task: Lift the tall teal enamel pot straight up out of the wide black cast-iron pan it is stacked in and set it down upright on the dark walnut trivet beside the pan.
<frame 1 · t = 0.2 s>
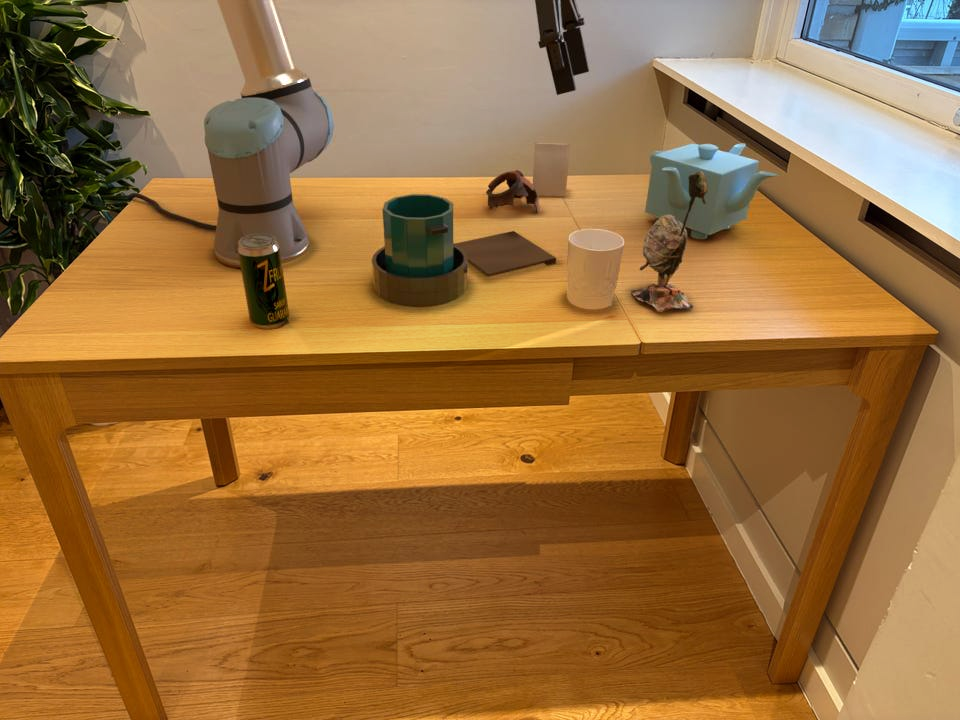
hand: (574, 82, 107), 28 cm above the table, tool tilted 20°, fingers open, 13 cm apart
brown arched frame: (514, 209, 140), on the table
trivet: (501, 256, 121), on the table
teakettle: (698, 227, 133), on the table
green soda can: (270, 321, 101), on the table
brown figurine: (658, 299, 109), on the table
white cup: (589, 302, 108), on the table
white upright block: (548, 194, 147), on the table
pan: (420, 288, 110), on the table, touching pot
pot: (420, 284, 110), point 1 cm above the table, touching pan
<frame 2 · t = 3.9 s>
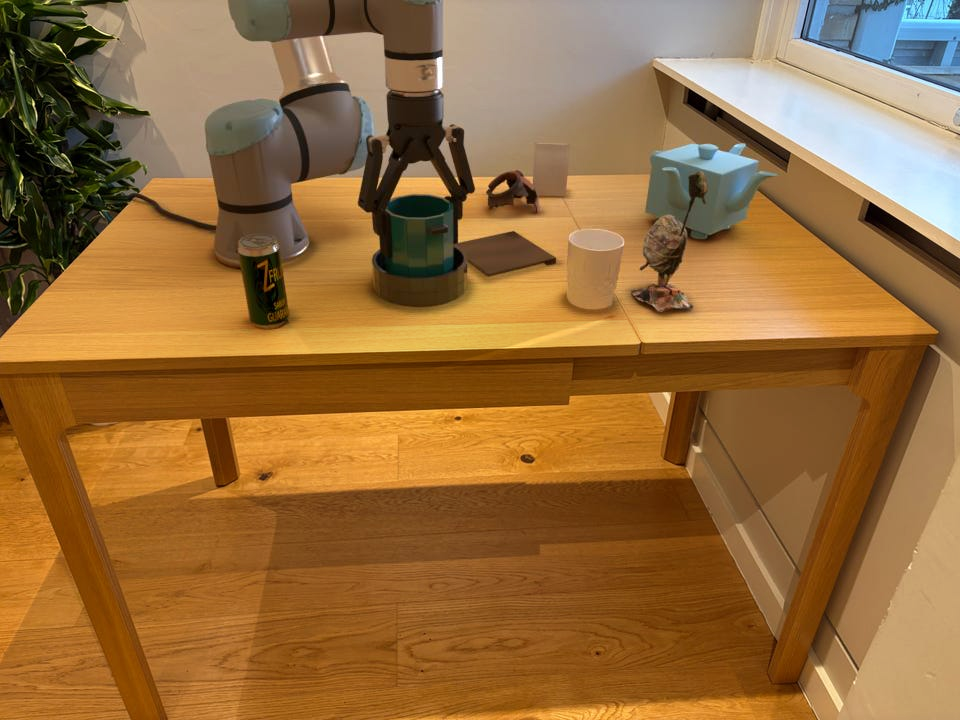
hand: (419, 247, 107), 7 cm above the table, tool pointing down, fingers closed on pot, 10 cm apart
pot: (420, 284, 110), point 1 cm above the table, touching gripper, pan
everything else where it was.
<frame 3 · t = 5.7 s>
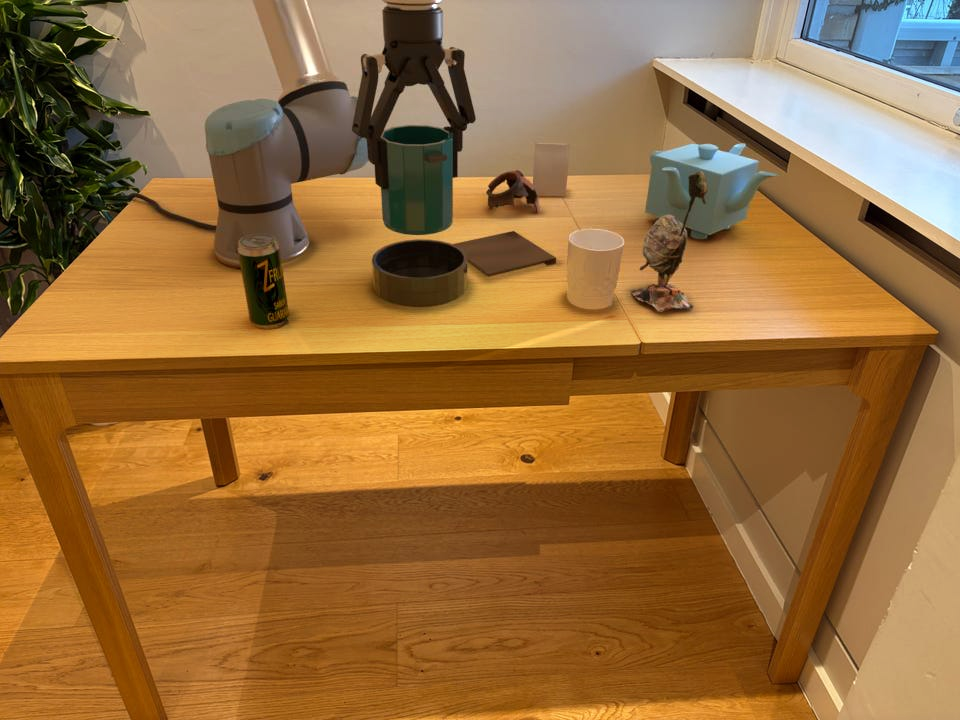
hand: (417, 180, 102), 17 cm above the table, tool pointing down, fingers closed on pot, 10 cm apart
pan: (420, 288, 110), on the table
pot: (418, 221, 105), point 11 cm above the table, touching gripper
everything else where it was.
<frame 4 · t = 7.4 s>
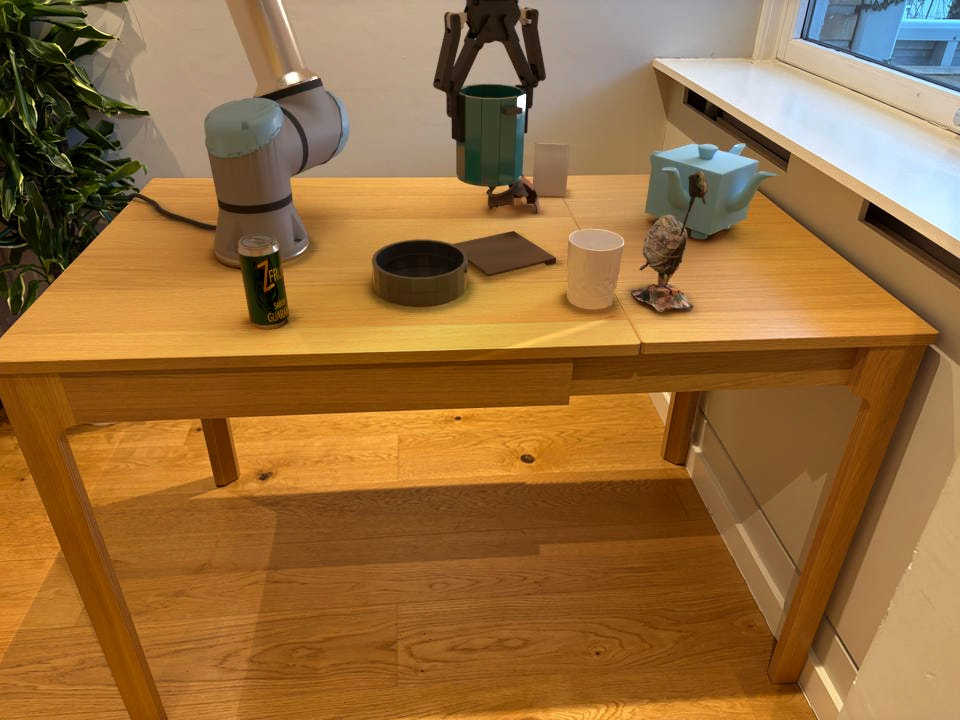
hand: (489, 135, 107), 21 cm above the table, tool pointing down, fingers closed on pot, 10 cm apart
pot: (489, 176, 111), point 15 cm above the table, touching gripper
everything else where it was.
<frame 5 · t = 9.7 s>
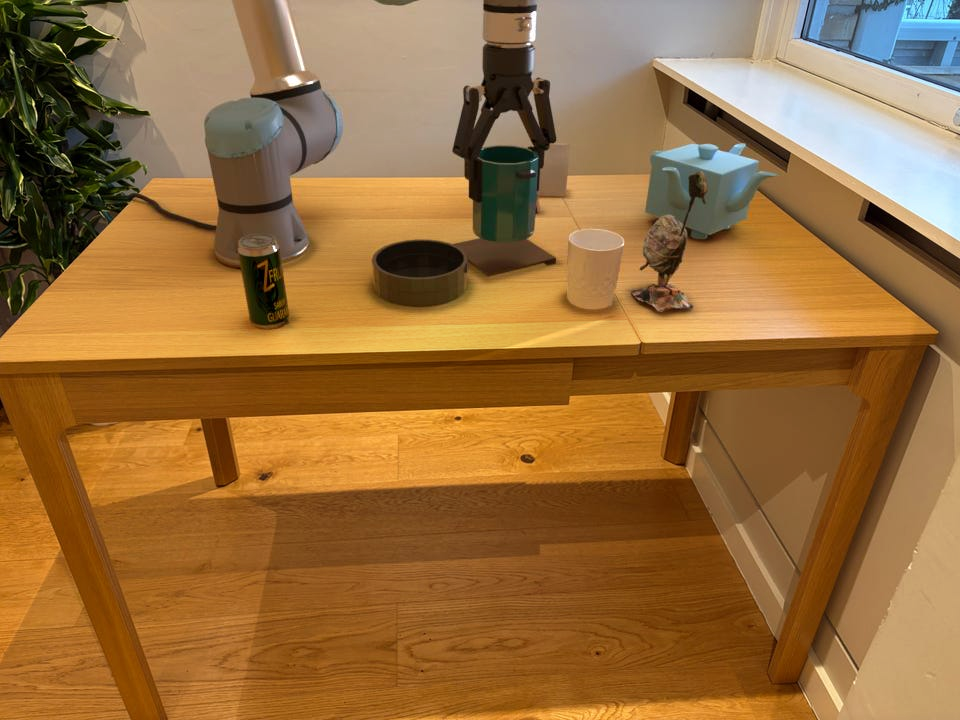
hand: (504, 194, 115), 11 cm above the table, tool pointing down, fingers closed on pot, 10 cm apart
pot: (503, 230, 118), point 5 cm above the table, touching gripper
everything else where it was.
when the fingers open (7 cm above the table, at t = 11.3 s): pot stays where it is, resting on trivet.
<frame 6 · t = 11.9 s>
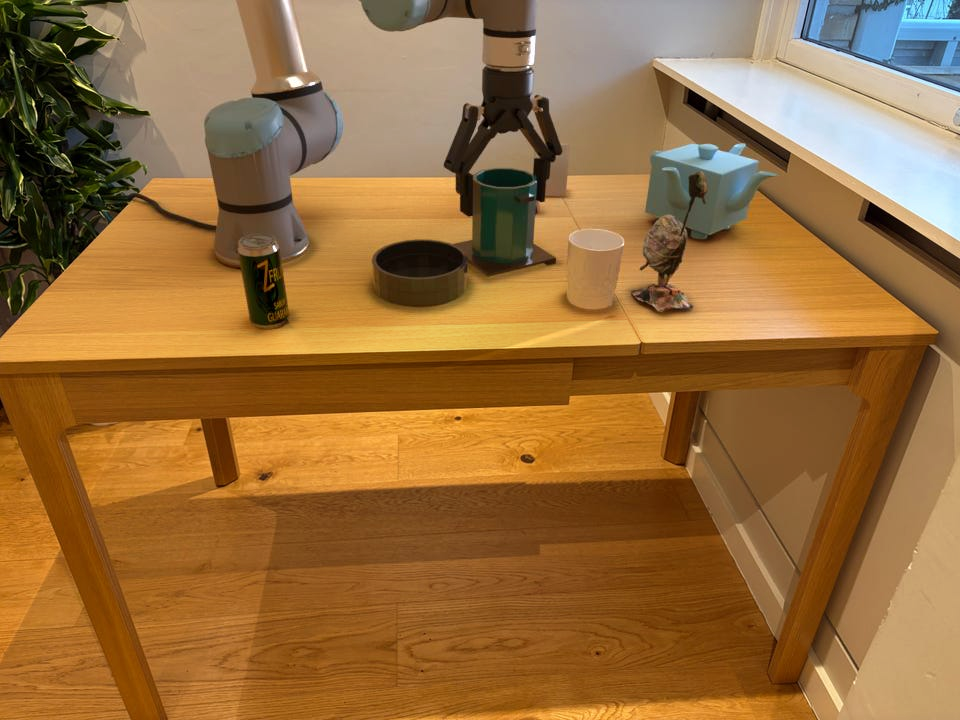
hand: (503, 206, 116), 9 cm above the table, tool pointing down, fingers open, 13 cm apart
pot: (502, 251, 120), point 1 cm above the table, touching trivet
everything else where it was.
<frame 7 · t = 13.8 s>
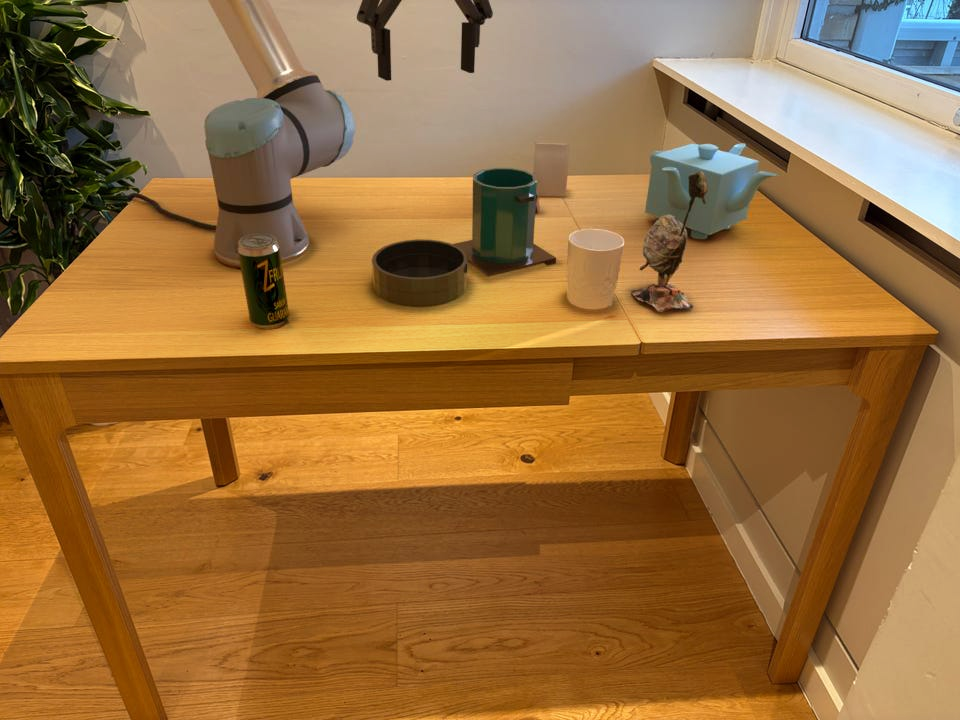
hand: (427, 75, 105), 29 cm above the table, tool pointing down, fingers open, 13 cm apart
nothing on the table moved.
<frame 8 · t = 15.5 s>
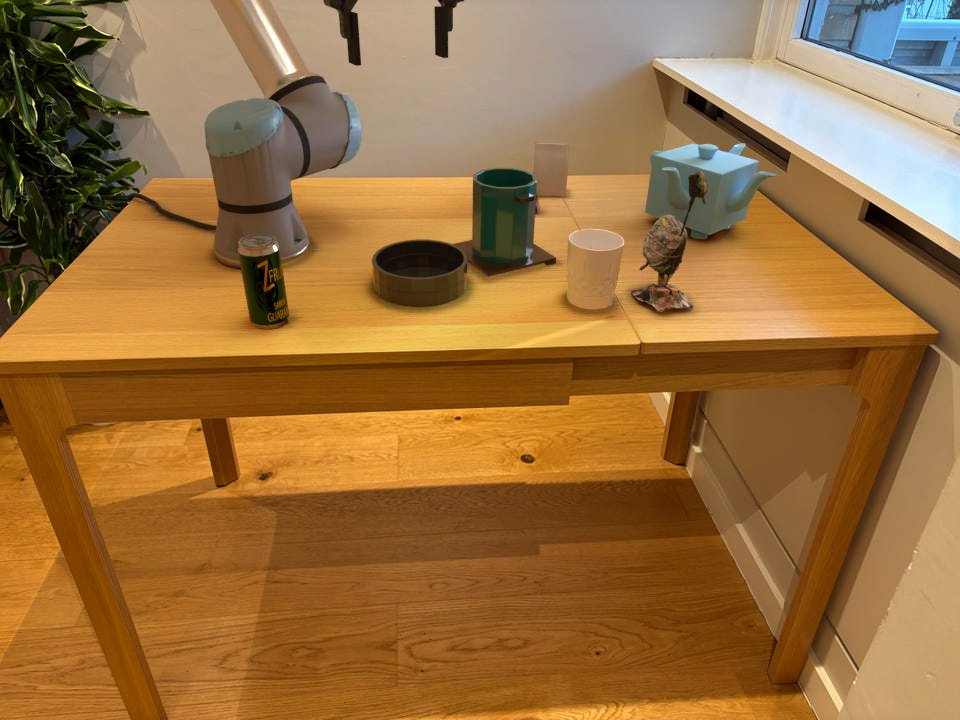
hand: (399, 60, 103), 31 cm above the table, tool pointing down, fingers open, 13 cm apart
nothing on the table moved.
at the end: pot inside the target area on the trivet (0.1 cm from its centre), point 1.0 cm above the trivet's base; pot tilted 0°; pan moved 0.0 cm from its start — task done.
